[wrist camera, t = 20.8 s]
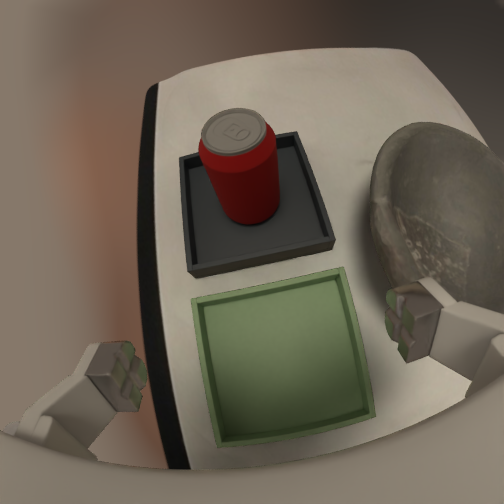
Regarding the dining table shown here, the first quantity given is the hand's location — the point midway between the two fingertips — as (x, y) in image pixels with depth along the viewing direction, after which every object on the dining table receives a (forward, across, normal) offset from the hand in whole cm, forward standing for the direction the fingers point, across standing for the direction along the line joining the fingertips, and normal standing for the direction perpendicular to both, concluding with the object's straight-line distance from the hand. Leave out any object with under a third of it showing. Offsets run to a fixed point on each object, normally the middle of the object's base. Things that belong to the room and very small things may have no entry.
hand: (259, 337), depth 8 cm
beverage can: (+26, 0, +2) cm, 26 cm away
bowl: (+19, -21, +10) cm, 30 cm away
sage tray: (+13, 0, +16) cm, 20 cm away
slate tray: (+26, 0, +3) cm, 26 cm away
